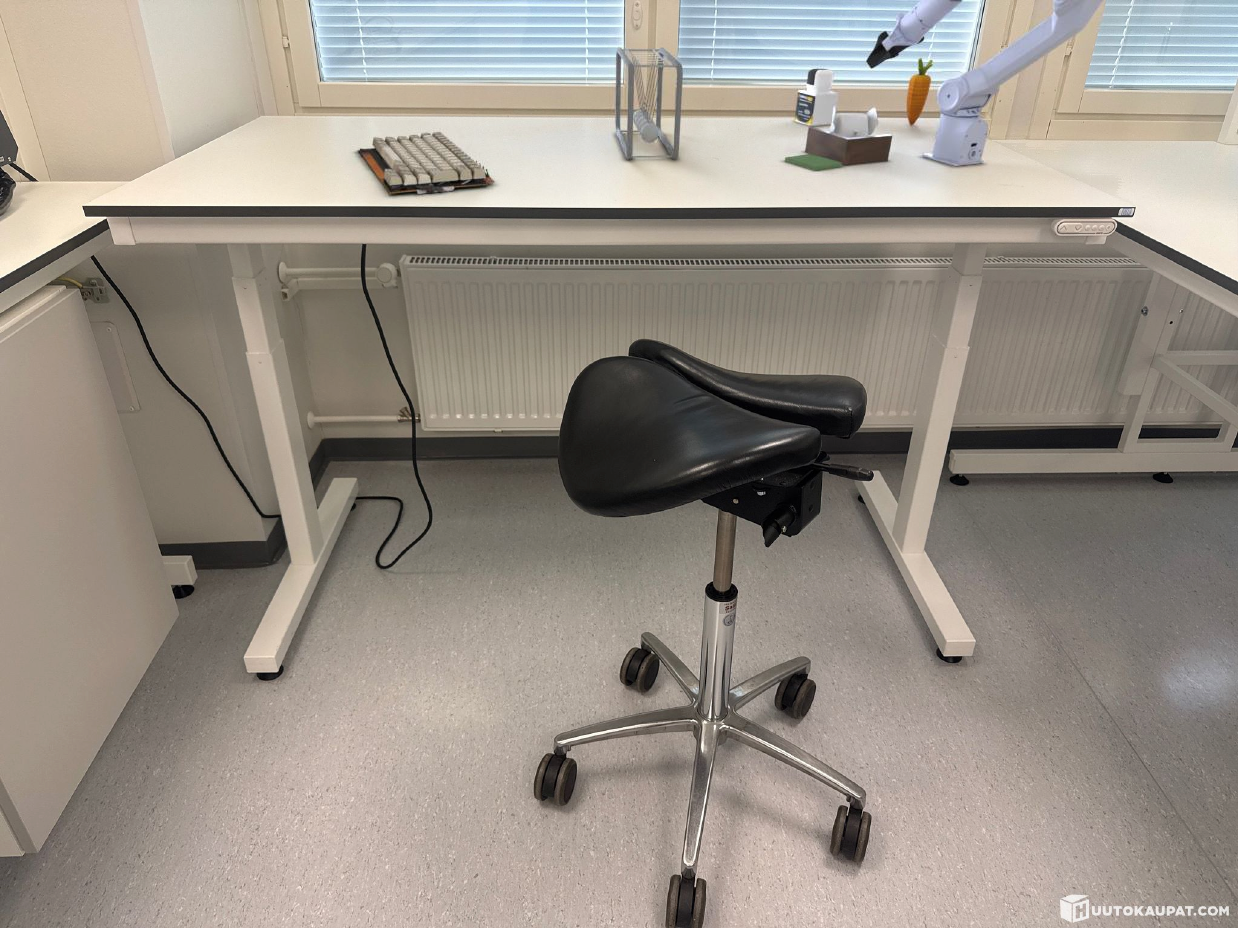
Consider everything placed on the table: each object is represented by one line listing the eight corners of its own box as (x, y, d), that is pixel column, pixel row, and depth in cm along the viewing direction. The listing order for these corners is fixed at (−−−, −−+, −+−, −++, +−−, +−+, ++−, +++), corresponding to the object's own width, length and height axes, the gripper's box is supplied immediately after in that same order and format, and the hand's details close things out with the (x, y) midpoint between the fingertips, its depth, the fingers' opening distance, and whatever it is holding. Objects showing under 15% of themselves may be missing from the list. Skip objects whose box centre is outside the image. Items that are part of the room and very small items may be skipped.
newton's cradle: (678, 162, 164) (683, 64, 155) (626, 162, 164) (628, 64, 154) (660, 132, 189) (663, 46, 180) (615, 132, 189) (615, 46, 179)
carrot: (919, 124, 203) (933, 56, 194) (923, 128, 198) (938, 59, 190) (899, 123, 203) (912, 56, 195) (903, 127, 199) (916, 58, 191)
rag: (841, 166, 163) (842, 162, 163) (815, 171, 160) (816, 166, 160) (809, 157, 170) (810, 153, 169) (784, 161, 166) (784, 157, 166)
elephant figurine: (861, 145, 181) (869, 101, 176) (876, 157, 171) (884, 111, 166) (818, 144, 181) (825, 101, 176) (830, 156, 171) (837, 111, 166)
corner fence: (887, 161, 168) (892, 135, 165) (843, 165, 164) (847, 139, 161) (847, 148, 178) (851, 123, 175) (804, 152, 174) (808, 127, 171)
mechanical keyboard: (356, 151, 168) (354, 134, 166) (448, 145, 174) (447, 129, 173) (391, 199, 139) (388, 178, 137) (499, 189, 146) (498, 170, 144)
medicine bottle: (793, 121, 203) (800, 68, 196) (817, 119, 206) (824, 66, 199) (811, 126, 198) (818, 72, 191) (834, 124, 200) (842, 70, 194)
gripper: (934, -12, 168) (887, 33, 180) (895, 8, 162) (849, 53, 174) (952, 17, 169) (905, 60, 181) (914, 39, 162) (868, 81, 174)
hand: (879, 59), depth 177 cm, fingers open, 7 cm apart
